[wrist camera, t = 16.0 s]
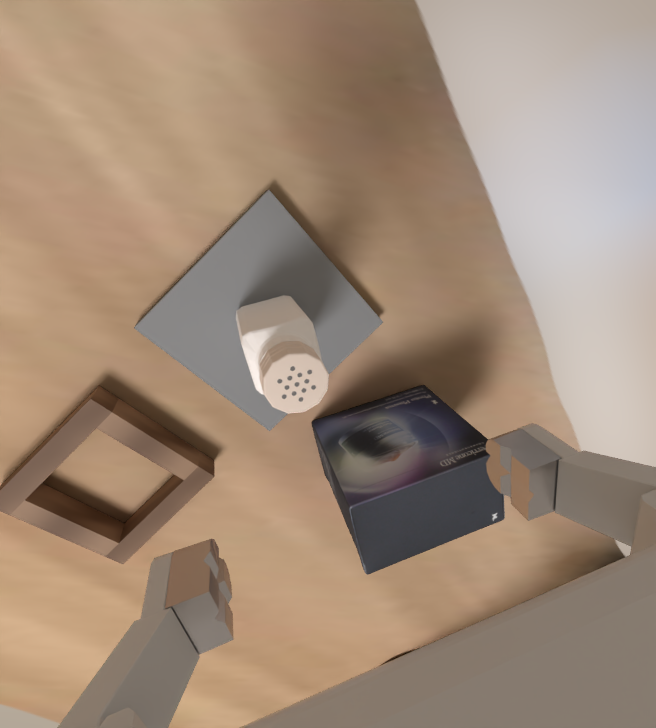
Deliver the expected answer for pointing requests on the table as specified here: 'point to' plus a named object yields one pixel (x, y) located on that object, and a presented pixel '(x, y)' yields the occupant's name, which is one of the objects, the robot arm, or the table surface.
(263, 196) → the mat
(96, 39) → the table surface
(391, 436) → the small box
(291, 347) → the pepper shaker
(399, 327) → the table surface
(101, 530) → the collar
